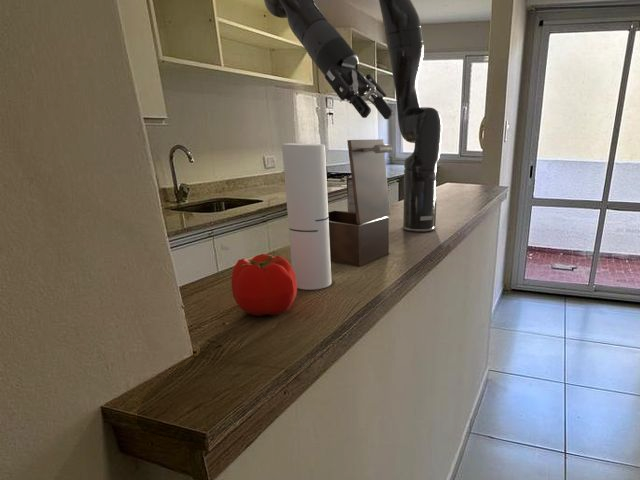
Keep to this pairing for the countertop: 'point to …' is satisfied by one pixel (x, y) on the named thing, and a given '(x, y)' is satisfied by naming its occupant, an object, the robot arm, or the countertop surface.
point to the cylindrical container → (308, 213)
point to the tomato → (264, 285)
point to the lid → (369, 178)
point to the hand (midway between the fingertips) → (379, 115)
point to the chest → (357, 238)
